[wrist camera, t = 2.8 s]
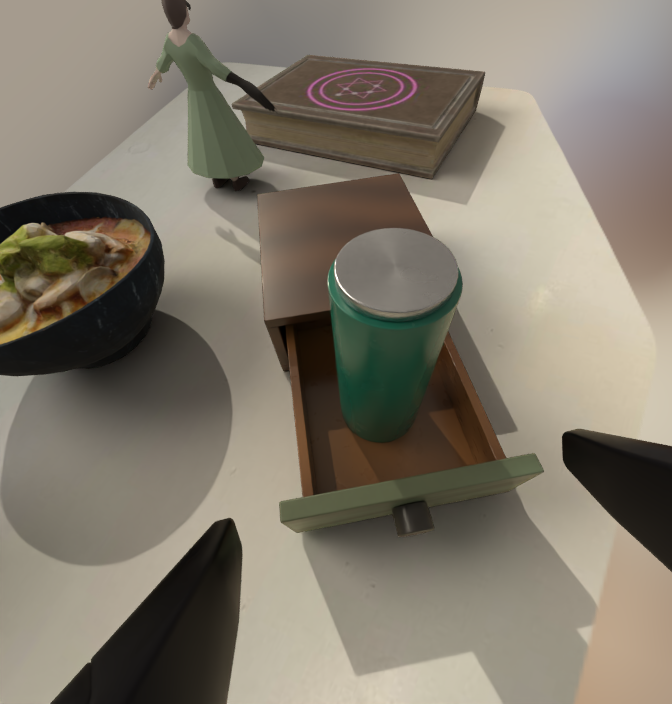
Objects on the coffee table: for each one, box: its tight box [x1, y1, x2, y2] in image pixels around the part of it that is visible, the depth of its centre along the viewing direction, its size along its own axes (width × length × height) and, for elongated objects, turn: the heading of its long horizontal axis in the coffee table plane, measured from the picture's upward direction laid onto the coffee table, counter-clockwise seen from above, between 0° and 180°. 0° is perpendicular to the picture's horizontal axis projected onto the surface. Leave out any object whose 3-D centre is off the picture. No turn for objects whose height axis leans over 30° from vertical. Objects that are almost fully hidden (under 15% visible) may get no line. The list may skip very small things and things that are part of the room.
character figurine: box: [148, 0, 278, 191], centre depth 37 cm, size 16×8×18 cm, turn 70°
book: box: [232, 55, 485, 179], centre depth 50 cm, size 30×22×5 cm
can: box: [328, 228, 463, 443], centre depth 18 cm, size 5×5×13 cm
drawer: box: [279, 318, 544, 537], centre depth 22 cm, size 17×14×5 cm
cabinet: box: [257, 173, 433, 371], centre depth 29 cm, size 16×14×7 cm
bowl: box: [0, 192, 164, 376], centre depth 27 cm, size 17×17×10 cm
